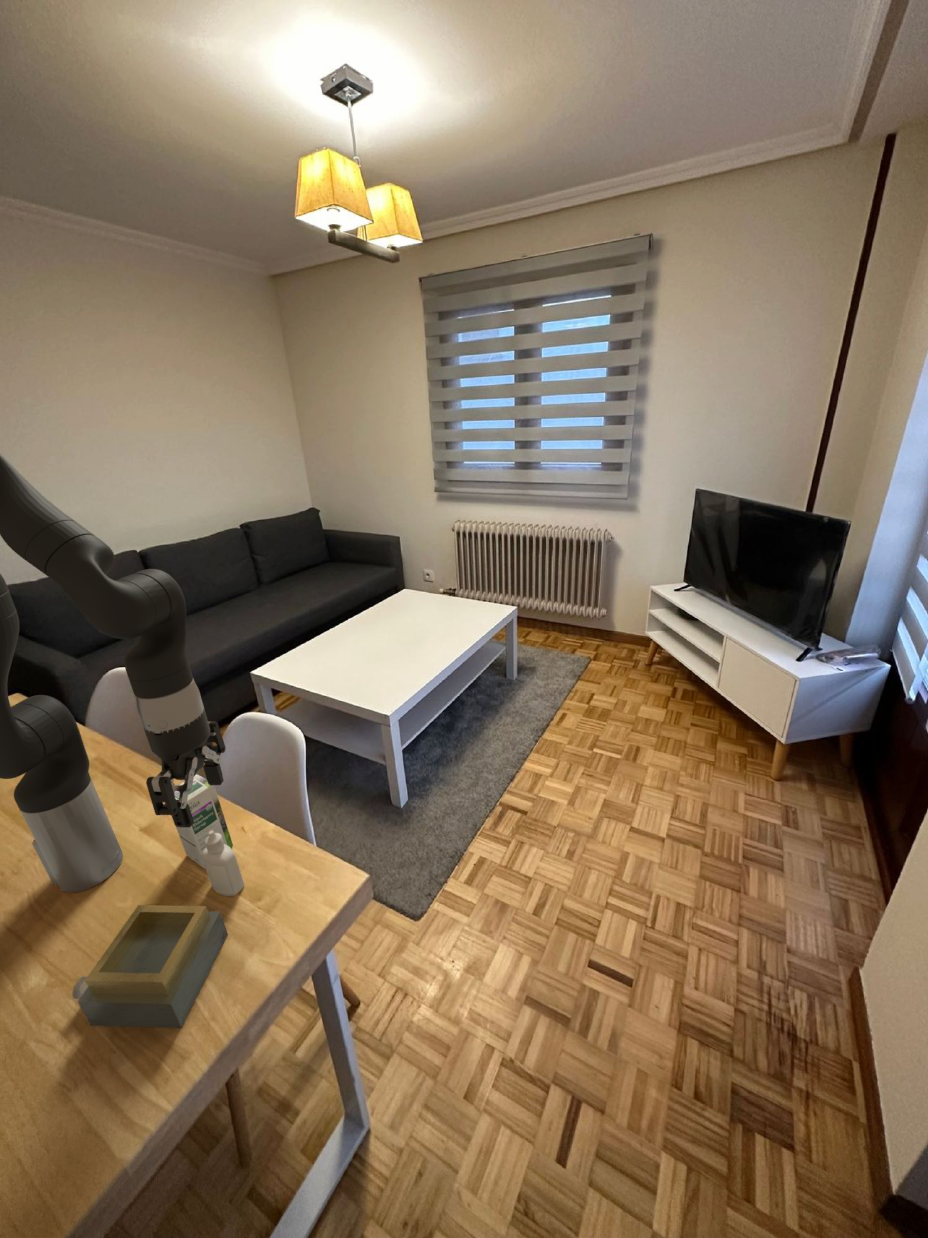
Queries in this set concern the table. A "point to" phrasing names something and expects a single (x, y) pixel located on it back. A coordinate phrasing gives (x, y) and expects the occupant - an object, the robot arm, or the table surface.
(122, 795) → the table surface
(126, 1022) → the grey gold open box
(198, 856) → the syrup box
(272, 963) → the table surface
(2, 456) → the robot arm
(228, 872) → the eye dropper bottle
